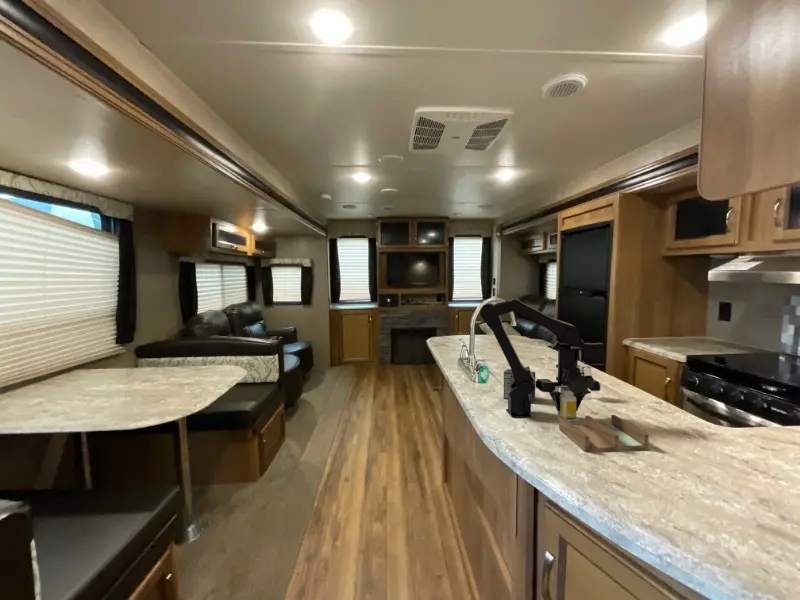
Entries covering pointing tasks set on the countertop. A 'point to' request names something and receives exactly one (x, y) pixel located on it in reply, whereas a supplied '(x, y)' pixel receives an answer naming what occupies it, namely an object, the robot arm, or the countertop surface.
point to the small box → (509, 380)
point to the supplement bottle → (567, 405)
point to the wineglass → (585, 374)
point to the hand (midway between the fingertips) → (567, 411)
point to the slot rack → (605, 435)
